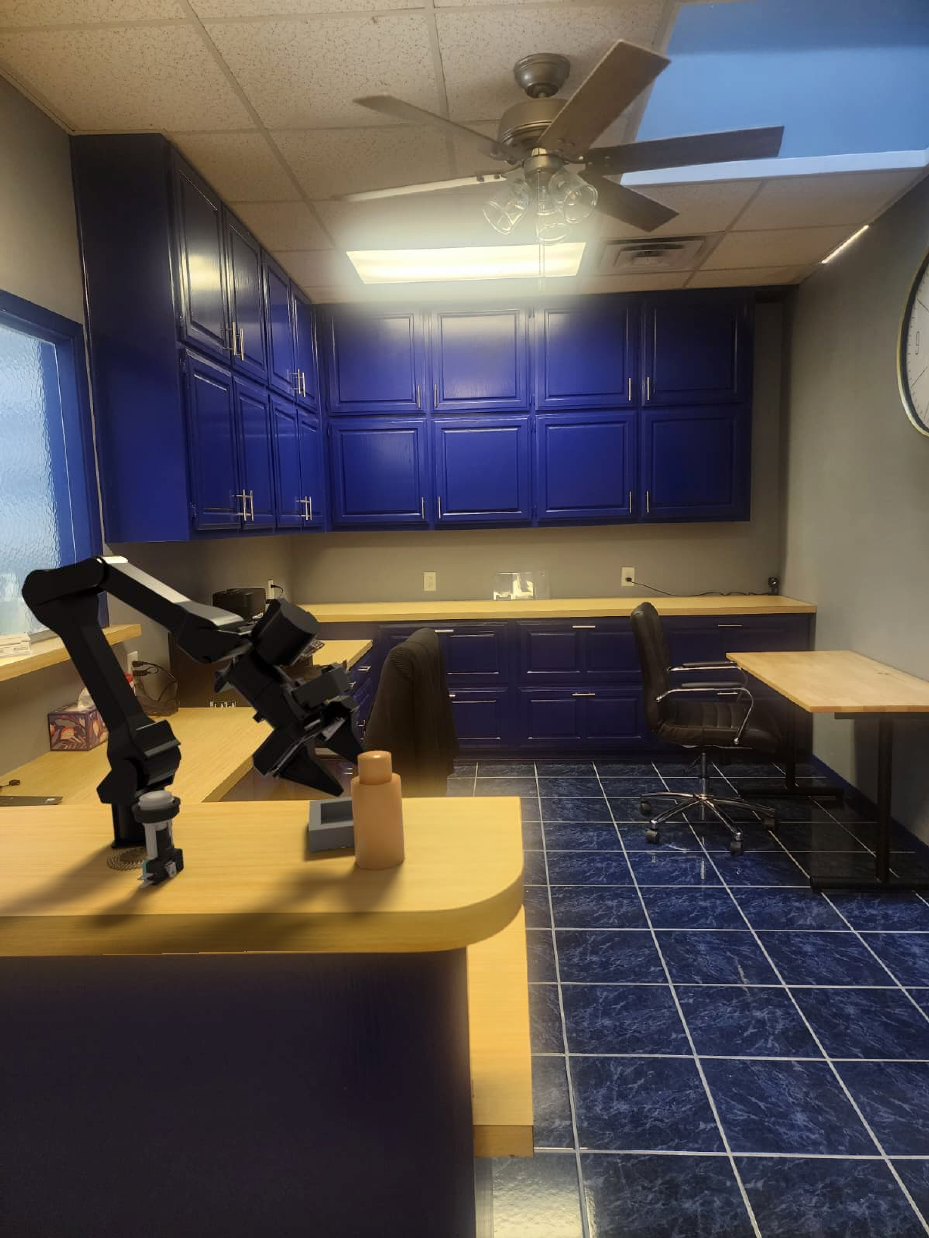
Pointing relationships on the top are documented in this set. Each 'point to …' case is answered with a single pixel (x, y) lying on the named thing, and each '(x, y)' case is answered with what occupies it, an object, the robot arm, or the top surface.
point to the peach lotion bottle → (377, 812)
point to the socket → (331, 824)
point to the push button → (159, 836)
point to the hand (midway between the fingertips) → (357, 781)
